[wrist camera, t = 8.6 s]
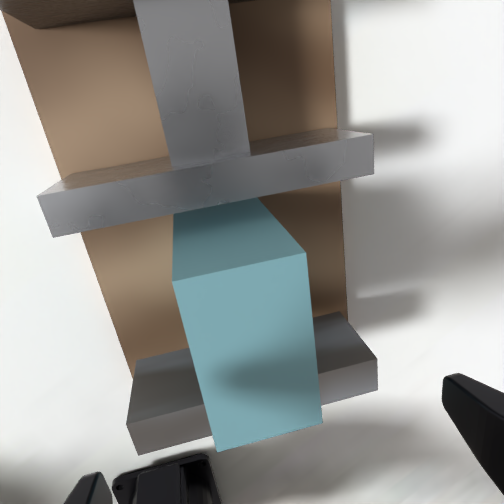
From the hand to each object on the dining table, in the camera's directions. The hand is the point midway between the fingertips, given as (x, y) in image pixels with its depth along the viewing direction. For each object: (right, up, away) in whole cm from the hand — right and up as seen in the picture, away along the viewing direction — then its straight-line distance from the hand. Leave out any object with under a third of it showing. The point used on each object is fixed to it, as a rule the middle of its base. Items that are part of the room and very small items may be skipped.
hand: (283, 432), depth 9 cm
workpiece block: (-2, +4, +10) cm, 11 cm away
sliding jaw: (-3, +12, +7) cm, 14 cm away
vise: (-3, +7, +10) cm, 12 cm away
